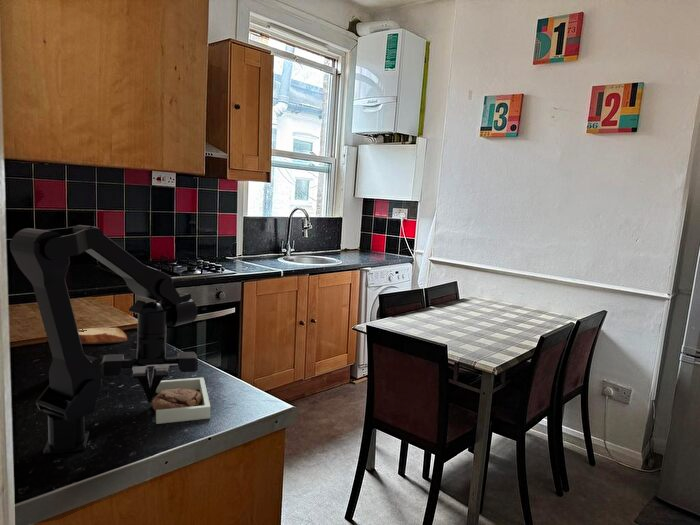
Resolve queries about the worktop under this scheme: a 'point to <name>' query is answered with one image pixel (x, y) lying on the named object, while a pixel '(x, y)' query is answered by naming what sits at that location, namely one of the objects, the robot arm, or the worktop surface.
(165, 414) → the box
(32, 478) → the worktop surface
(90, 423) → the worktop surface
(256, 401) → the worktop surface
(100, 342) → the slice of bread
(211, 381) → the worktop surface
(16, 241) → the robot arm
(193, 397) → the cookie
